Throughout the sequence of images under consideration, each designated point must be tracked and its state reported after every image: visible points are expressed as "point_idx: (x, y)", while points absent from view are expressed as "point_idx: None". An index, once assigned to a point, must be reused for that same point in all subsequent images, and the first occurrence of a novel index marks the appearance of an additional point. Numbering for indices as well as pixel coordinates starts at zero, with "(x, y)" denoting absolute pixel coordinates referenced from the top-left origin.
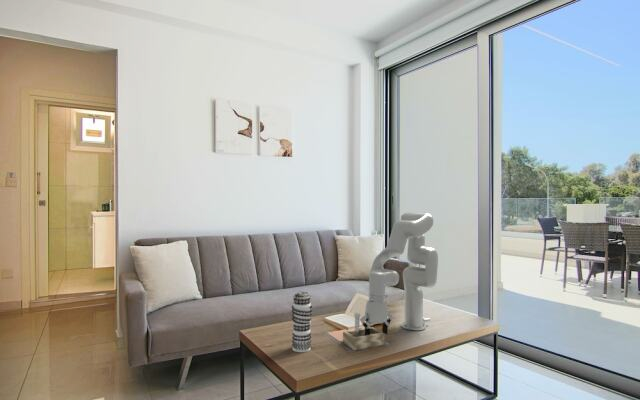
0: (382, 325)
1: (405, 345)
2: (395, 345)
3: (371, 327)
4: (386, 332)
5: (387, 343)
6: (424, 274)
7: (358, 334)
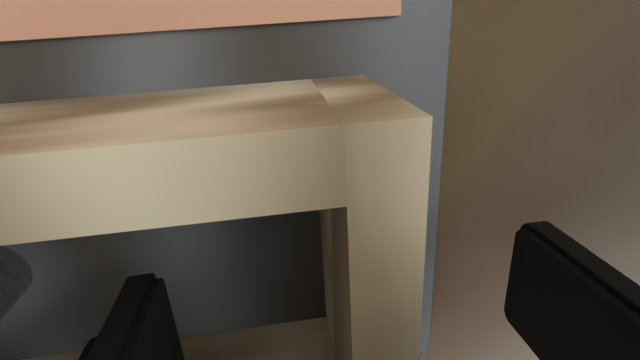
0: (625, 316)
1: None
2: (485, 322)
3: (383, 159)
4: (528, 340)
5: None
6: None
7: None
